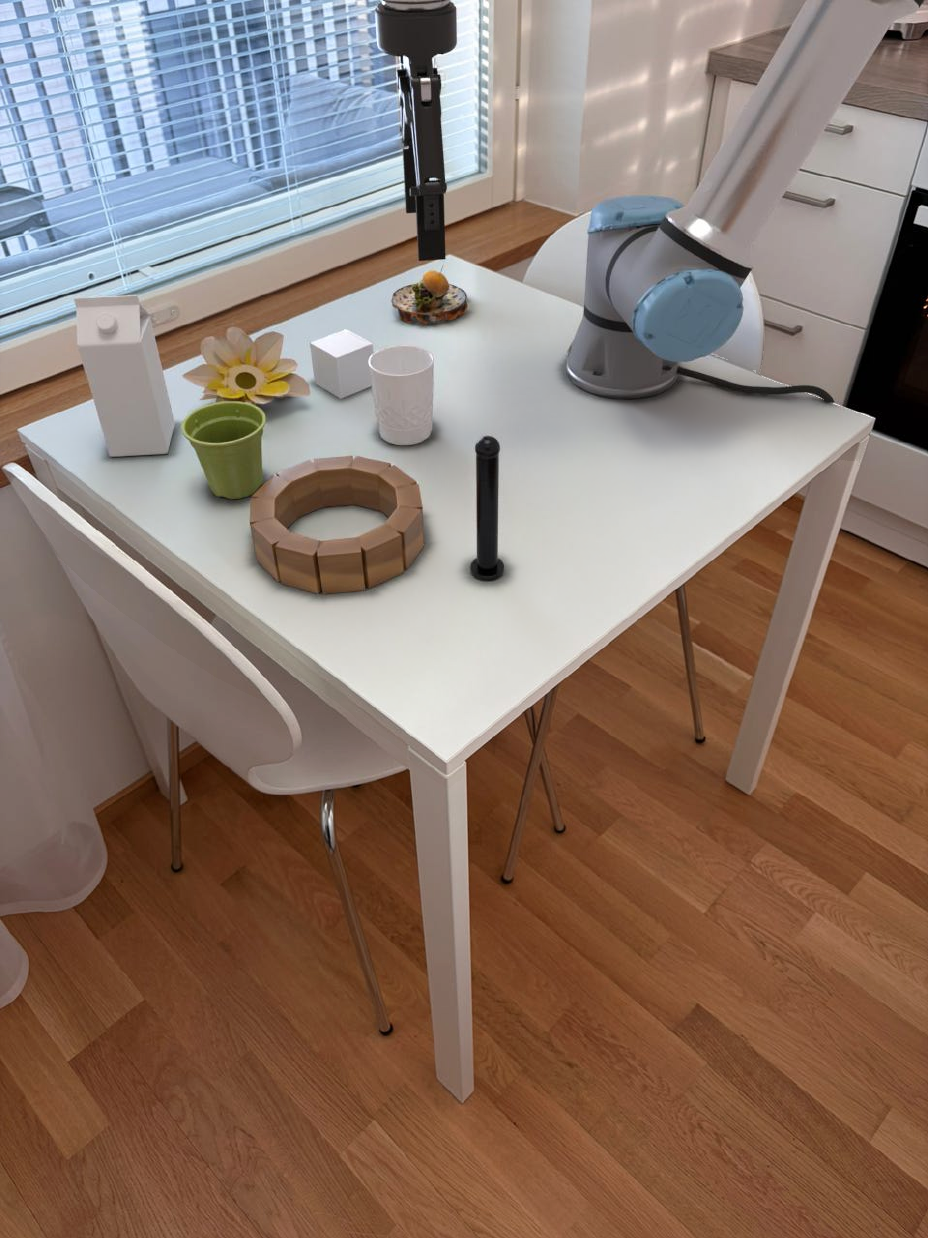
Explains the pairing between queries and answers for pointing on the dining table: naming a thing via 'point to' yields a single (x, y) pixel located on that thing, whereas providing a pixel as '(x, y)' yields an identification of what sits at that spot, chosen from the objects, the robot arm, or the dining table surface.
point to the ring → (337, 559)
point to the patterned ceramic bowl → (430, 299)
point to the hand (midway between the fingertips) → (424, 234)
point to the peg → (487, 510)
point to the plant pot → (228, 446)
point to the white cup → (403, 393)
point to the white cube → (342, 363)
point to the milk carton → (124, 374)
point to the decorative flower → (246, 369)
